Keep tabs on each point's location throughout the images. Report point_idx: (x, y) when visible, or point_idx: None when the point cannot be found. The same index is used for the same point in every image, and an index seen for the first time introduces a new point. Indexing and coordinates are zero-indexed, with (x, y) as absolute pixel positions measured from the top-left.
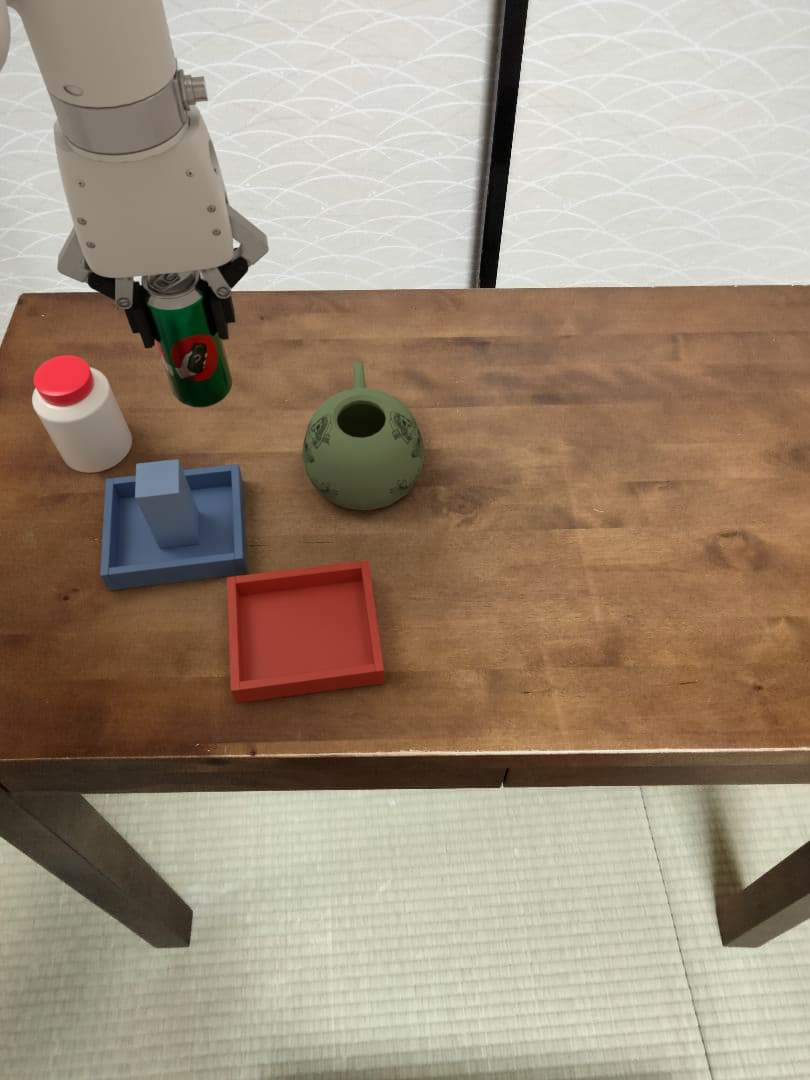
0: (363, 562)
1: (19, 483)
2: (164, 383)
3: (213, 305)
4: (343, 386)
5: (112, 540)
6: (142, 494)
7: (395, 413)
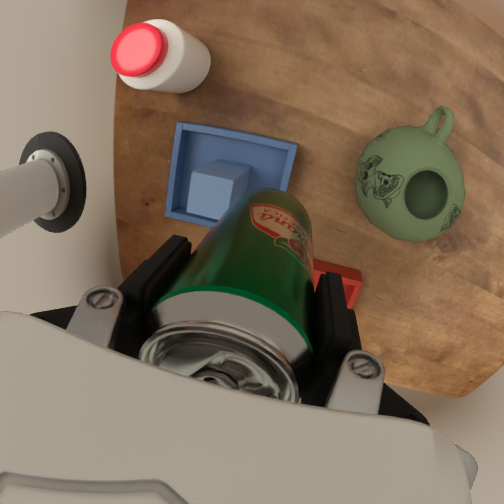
0: (359, 283)
1: (122, 92)
2: (252, 10)
3: (301, 398)
4: (418, 81)
5: (176, 182)
6: (193, 211)
7: (455, 206)
